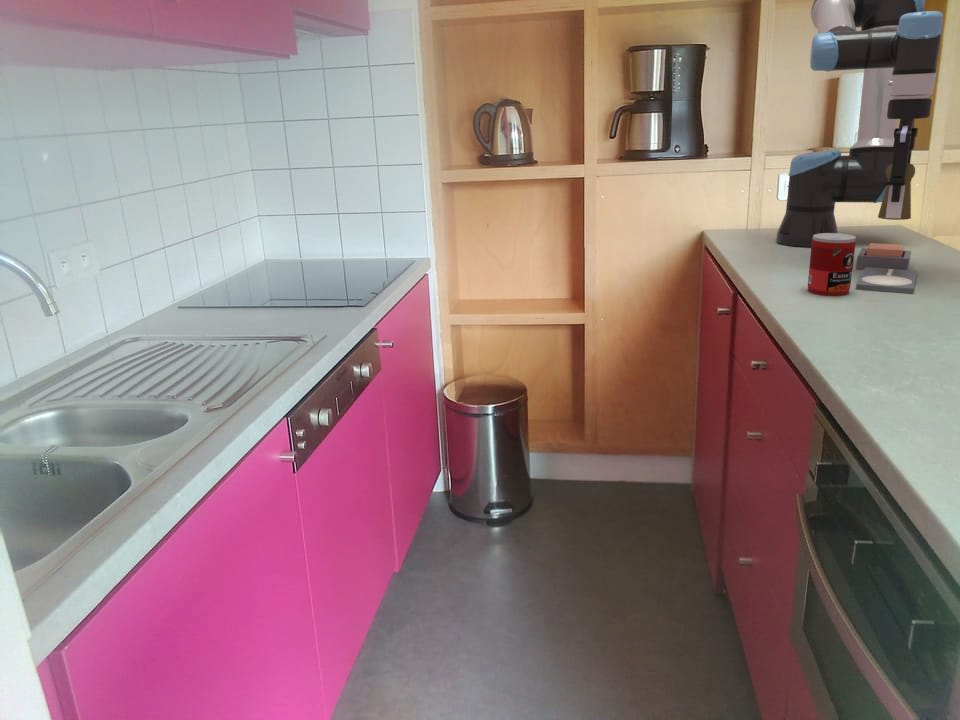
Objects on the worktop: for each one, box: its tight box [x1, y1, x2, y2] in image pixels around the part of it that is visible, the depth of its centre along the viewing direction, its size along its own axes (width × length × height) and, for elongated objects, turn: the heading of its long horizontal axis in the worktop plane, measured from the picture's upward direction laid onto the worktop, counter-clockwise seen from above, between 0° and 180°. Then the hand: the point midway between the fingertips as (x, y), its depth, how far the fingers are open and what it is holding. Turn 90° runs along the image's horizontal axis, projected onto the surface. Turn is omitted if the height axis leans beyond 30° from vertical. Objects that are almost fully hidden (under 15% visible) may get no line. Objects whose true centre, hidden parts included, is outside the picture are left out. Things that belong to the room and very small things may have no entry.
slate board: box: [855, 267, 919, 294], centre depth 157 cm, size 18×10×1 cm, turn 149°
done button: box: [866, 242, 905, 257], centre depth 170 cm, size 7×7×3 cm
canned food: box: [807, 232, 857, 297], centre depth 150 cm, size 8×8×11 cm
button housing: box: [855, 247, 912, 271], centre depth 171 cm, size 10×10×3 cm
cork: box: [877, 163, 916, 221], centre depth 156 cm, size 6×6×11 cm
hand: (894, 215), depth 158 cm, fingers closed on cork, 6 cm apart
